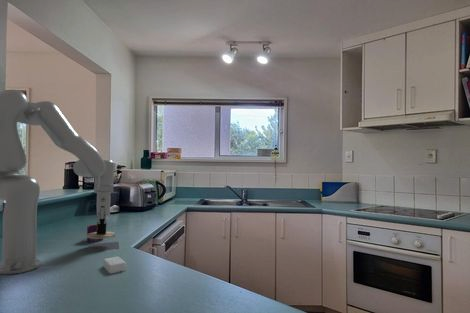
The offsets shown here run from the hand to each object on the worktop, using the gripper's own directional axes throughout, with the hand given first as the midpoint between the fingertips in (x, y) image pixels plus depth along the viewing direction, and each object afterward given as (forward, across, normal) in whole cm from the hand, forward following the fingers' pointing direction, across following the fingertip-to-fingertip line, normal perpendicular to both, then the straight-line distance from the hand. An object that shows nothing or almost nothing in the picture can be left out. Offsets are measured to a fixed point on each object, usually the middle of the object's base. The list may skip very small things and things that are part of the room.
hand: (101, 232), depth 132 cm
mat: (+6, +1, -1) cm, 7 cm away
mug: (+7, +15, +3) cm, 16 cm away
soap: (+8, -29, -5) cm, 30 cm away
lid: (+2, 0, 0) cm, 2 cm away
